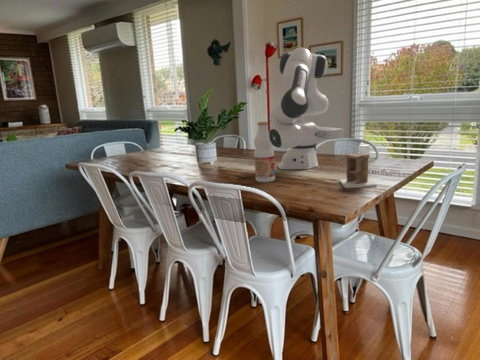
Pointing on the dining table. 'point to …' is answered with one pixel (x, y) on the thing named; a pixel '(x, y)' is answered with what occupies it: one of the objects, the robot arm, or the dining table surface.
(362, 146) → the shot glass
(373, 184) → the mat
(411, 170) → the dining table surface
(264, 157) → the fruit juice
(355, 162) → the stool
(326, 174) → the dining table surface
